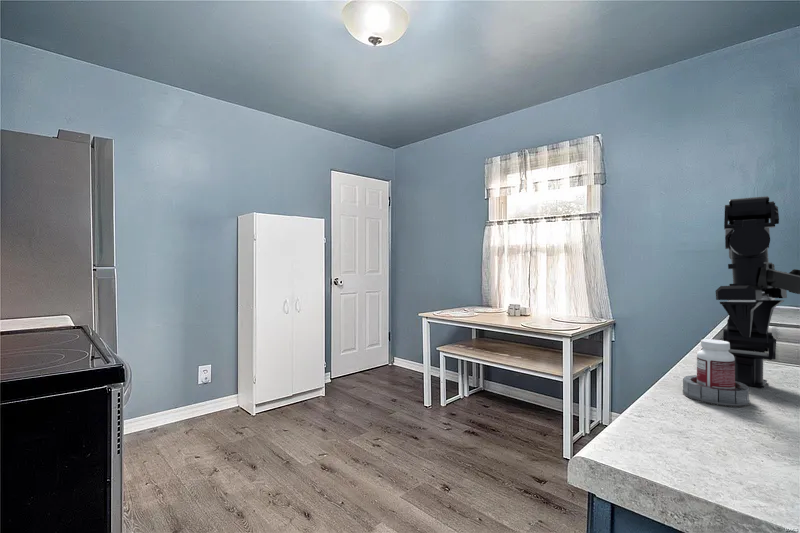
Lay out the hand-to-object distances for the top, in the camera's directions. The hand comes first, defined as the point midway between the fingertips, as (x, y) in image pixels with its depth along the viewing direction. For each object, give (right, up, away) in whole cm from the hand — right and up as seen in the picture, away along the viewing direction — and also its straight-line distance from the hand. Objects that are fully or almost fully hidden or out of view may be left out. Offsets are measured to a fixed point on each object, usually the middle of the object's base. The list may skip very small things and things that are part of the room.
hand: (755, 335), depth 81 cm
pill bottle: (-7, -13, +2) cm, 15 cm away
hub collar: (-7, -13, +2) cm, 15 cm away
